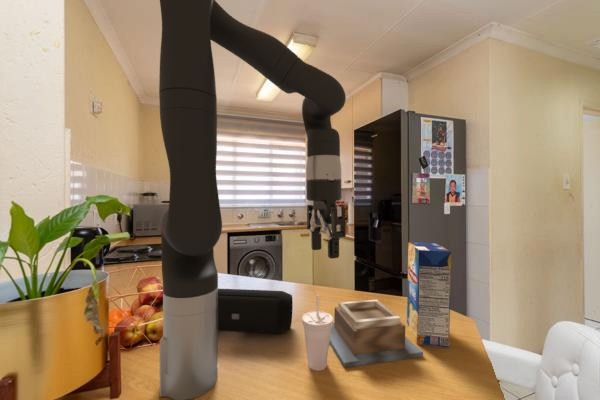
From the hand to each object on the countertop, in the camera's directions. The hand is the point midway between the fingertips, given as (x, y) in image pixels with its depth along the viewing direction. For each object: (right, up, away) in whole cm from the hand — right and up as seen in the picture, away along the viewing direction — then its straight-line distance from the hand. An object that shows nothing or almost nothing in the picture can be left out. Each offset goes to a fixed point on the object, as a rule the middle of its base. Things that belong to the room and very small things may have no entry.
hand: (324, 253), depth 58 cm
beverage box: (+26, -22, +9) cm, 35 cm away
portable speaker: (-20, -22, +11) cm, 32 cm away
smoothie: (-2, -22, -3) cm, 22 cm away
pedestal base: (+11, -22, +5) cm, 25 cm away
